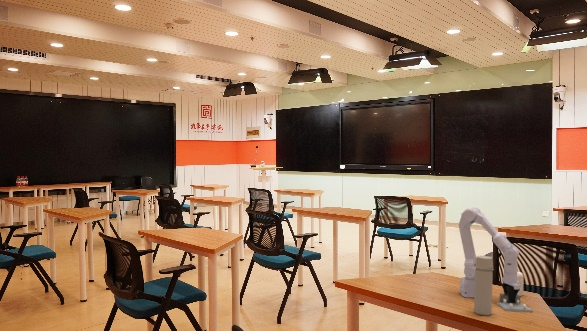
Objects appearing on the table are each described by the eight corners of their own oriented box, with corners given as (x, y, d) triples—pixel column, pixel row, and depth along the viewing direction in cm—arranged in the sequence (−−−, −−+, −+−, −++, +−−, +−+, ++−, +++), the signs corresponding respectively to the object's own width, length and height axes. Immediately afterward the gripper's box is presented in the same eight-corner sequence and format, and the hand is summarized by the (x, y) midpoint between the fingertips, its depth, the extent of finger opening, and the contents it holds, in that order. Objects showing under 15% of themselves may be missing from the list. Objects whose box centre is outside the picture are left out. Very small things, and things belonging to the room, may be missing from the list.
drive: (502, 304, 209) (503, 295, 209) (499, 301, 213) (499, 293, 213) (520, 305, 209) (520, 296, 209) (516, 302, 213) (516, 294, 213)
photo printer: (516, 293, 228) (516, 269, 228) (524, 295, 225) (524, 271, 225) (504, 296, 223) (505, 271, 223) (513, 298, 219) (513, 273, 219)
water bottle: (486, 317, 190) (488, 259, 190) (469, 312, 196) (471, 256, 196) (497, 313, 195) (499, 257, 195) (481, 308, 201) (482, 254, 201)
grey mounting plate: (505, 310, 199) (505, 304, 199) (497, 304, 208) (497, 298, 208) (532, 312, 199) (532, 305, 199) (523, 305, 208) (523, 299, 208)
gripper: (526, 276, 203) (525, 305, 203) (512, 268, 218) (511, 296, 218) (510, 275, 204) (509, 304, 204) (498, 268, 218) (497, 295, 218)
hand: (509, 300), depth 211 cm, fingers closed on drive, 4 cm apart
